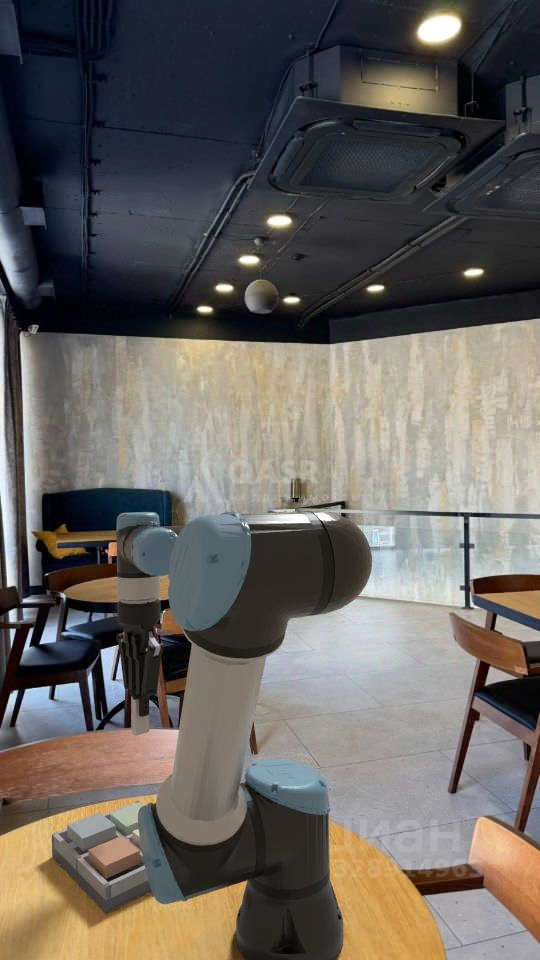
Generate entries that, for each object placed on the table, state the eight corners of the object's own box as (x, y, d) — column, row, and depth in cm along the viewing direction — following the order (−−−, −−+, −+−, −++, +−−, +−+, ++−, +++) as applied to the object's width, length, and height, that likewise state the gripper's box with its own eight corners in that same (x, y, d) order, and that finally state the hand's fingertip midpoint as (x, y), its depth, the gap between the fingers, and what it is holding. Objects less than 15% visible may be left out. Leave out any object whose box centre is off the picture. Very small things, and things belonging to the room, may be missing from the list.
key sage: (156, 825, 113) (156, 814, 113) (126, 838, 109) (126, 826, 109) (139, 813, 117) (139, 802, 117) (110, 824, 113) (110, 813, 113)
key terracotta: (140, 863, 102) (139, 850, 102) (105, 878, 98) (105, 865, 98) (121, 847, 106) (121, 835, 106) (88, 862, 102) (88, 849, 102)
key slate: (116, 837, 108) (115, 825, 108) (82, 851, 104) (82, 838, 104) (99, 823, 112) (99, 812, 112) (67, 836, 108) (67, 824, 108)
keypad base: (199, 867, 106) (199, 843, 106) (106, 914, 94) (105, 887, 94) (139, 821, 121) (138, 800, 121) (52, 857, 109) (51, 833, 109)
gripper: (176, 601, 109) (178, 737, 109) (139, 592, 119) (141, 717, 119) (138, 607, 105) (140, 750, 104) (102, 597, 114) (104, 727, 114)
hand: (140, 732), depth 112 cm, fingers closed
